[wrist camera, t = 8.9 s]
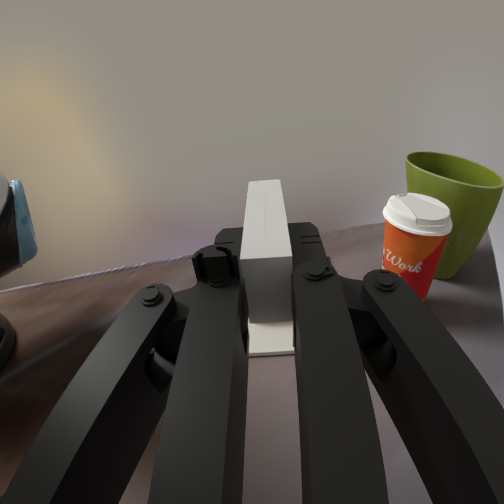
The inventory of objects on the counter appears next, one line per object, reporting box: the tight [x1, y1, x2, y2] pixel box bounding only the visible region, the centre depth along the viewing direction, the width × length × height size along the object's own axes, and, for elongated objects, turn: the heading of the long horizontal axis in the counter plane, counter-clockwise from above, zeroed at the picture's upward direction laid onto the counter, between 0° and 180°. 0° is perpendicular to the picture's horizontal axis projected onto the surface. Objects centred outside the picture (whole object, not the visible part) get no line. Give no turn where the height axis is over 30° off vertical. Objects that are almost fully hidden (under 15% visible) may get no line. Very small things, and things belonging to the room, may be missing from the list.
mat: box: [248, 317, 295, 356], centre depth 36 cm, size 15×18×1 cm
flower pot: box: [405, 152, 504, 280], centre depth 33 cm, size 15×15×16 cm
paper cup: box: [382, 193, 452, 302], centre depth 28 cm, size 8×8×14 cm
